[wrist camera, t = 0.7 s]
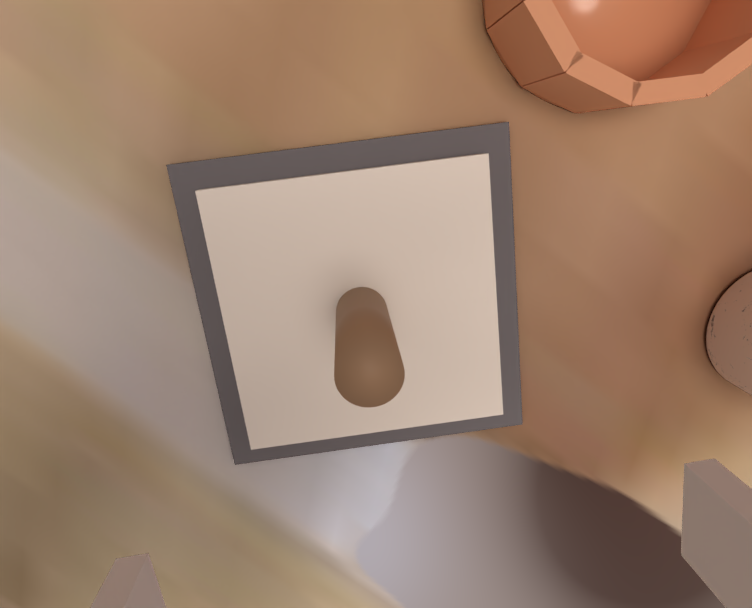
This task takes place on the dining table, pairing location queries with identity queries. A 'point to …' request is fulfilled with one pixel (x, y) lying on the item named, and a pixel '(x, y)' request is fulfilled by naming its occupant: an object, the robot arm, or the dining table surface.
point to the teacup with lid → (733, 334)
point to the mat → (335, 160)
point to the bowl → (620, 48)
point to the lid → (358, 298)
